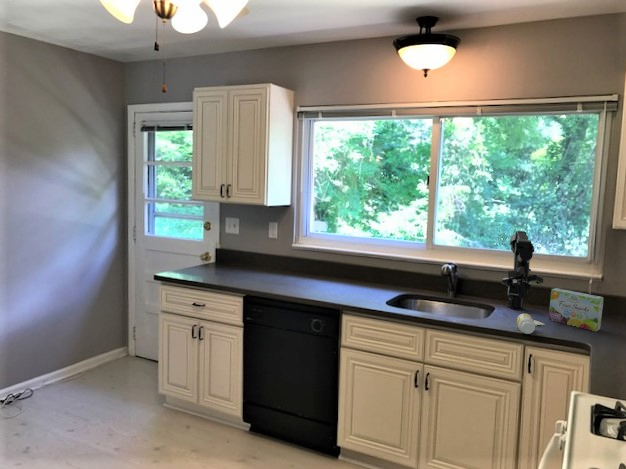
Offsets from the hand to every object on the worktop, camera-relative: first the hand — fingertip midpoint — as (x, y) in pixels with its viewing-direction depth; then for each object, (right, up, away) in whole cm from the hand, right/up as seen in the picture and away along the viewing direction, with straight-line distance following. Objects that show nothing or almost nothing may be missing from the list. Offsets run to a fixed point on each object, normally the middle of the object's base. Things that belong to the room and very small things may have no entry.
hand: (521, 298), depth 251 cm
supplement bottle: (-4, -8, -14) cm, 16 cm away
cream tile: (+4, -11, -6) cm, 13 cm away
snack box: (+22, -12, -5) cm, 25 cm away
